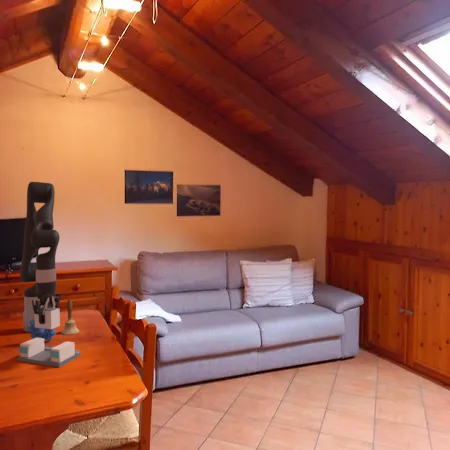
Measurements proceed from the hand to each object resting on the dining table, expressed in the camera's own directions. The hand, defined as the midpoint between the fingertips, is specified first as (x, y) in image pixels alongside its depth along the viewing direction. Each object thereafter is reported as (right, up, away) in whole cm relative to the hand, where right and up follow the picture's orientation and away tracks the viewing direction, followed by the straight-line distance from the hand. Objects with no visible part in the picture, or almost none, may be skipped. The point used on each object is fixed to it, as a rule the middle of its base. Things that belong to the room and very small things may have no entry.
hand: (47, 321), depth 176 cm
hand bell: (-3, -13, +36) cm, 38 cm away
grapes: (-10, -14, +20) cm, 27 cm away
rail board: (0, -15, +2) cm, 15 cm away
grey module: (0, -2, 0) cm, 2 cm away
